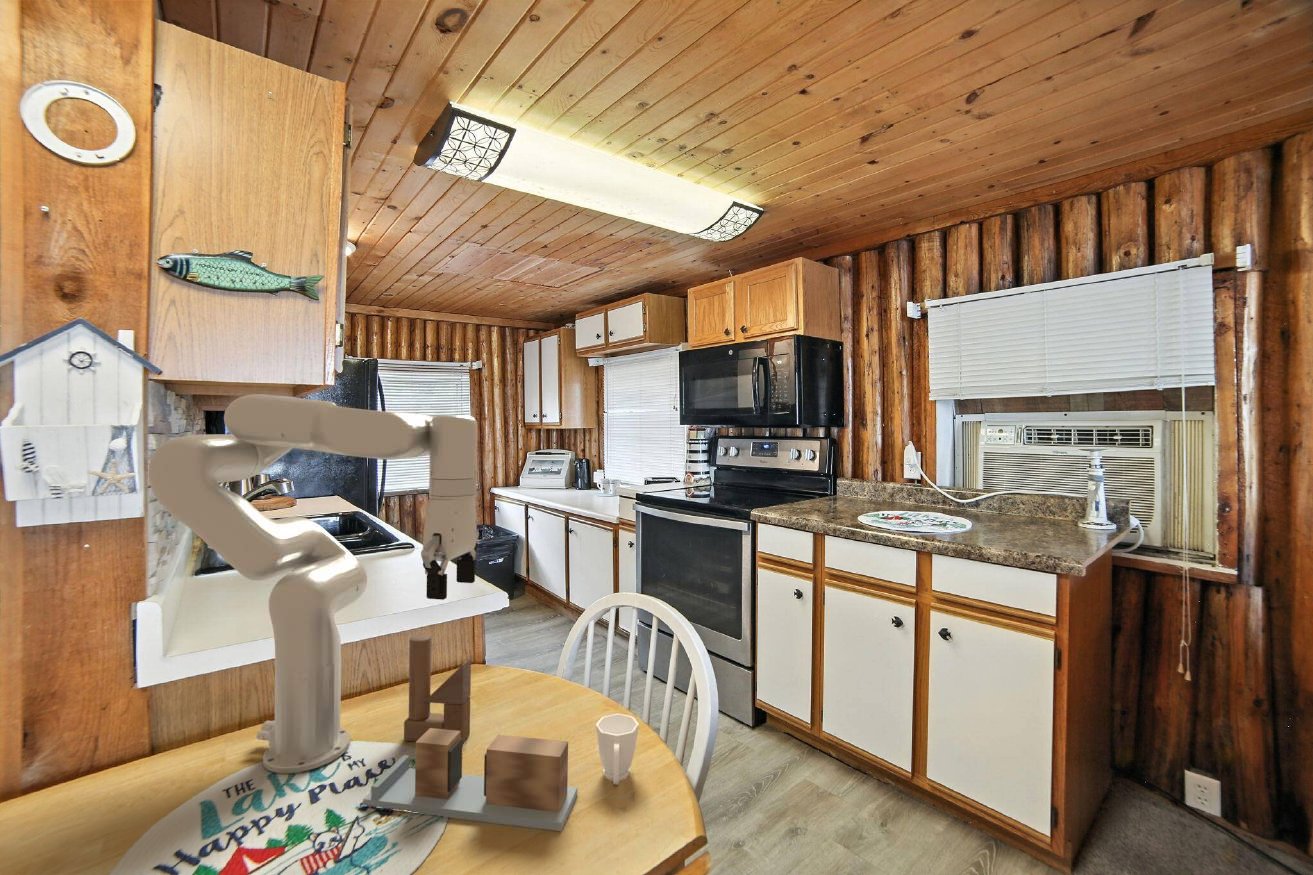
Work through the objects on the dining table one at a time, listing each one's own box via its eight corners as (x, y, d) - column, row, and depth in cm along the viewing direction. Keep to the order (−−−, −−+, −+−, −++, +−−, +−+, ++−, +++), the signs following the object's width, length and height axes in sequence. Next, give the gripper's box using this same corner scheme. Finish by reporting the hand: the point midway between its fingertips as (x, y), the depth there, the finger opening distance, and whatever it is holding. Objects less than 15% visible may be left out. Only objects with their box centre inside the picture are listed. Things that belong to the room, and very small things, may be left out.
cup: (637, 760, 96) (638, 712, 96) (638, 798, 86) (639, 745, 86) (596, 760, 96) (597, 712, 96) (592, 799, 86) (593, 746, 86)
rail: (363, 806, 83) (363, 785, 83) (395, 774, 91) (395, 754, 91) (561, 831, 79) (561, 808, 79) (577, 794, 87) (577, 773, 87)
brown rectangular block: (415, 795, 84) (415, 742, 84) (429, 779, 88) (430, 727, 88) (449, 799, 83) (450, 745, 83) (462, 782, 87) (463, 731, 87)
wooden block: (462, 745, 99) (463, 643, 99) (403, 741, 100) (404, 640, 100) (470, 734, 103) (472, 635, 103) (413, 730, 104) (414, 633, 104)
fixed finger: (483, 803, 82) (484, 748, 82) (494, 786, 86) (495, 734, 86) (558, 812, 81) (559, 756, 81) (567, 794, 85) (568, 741, 85)
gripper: (457, 483, 104) (456, 575, 105) (402, 493, 87) (401, 604, 87) (496, 484, 103) (494, 578, 104) (448, 495, 86) (446, 607, 86)
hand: (451, 590), depth 95 cm, fingers open, 9 cm apart
